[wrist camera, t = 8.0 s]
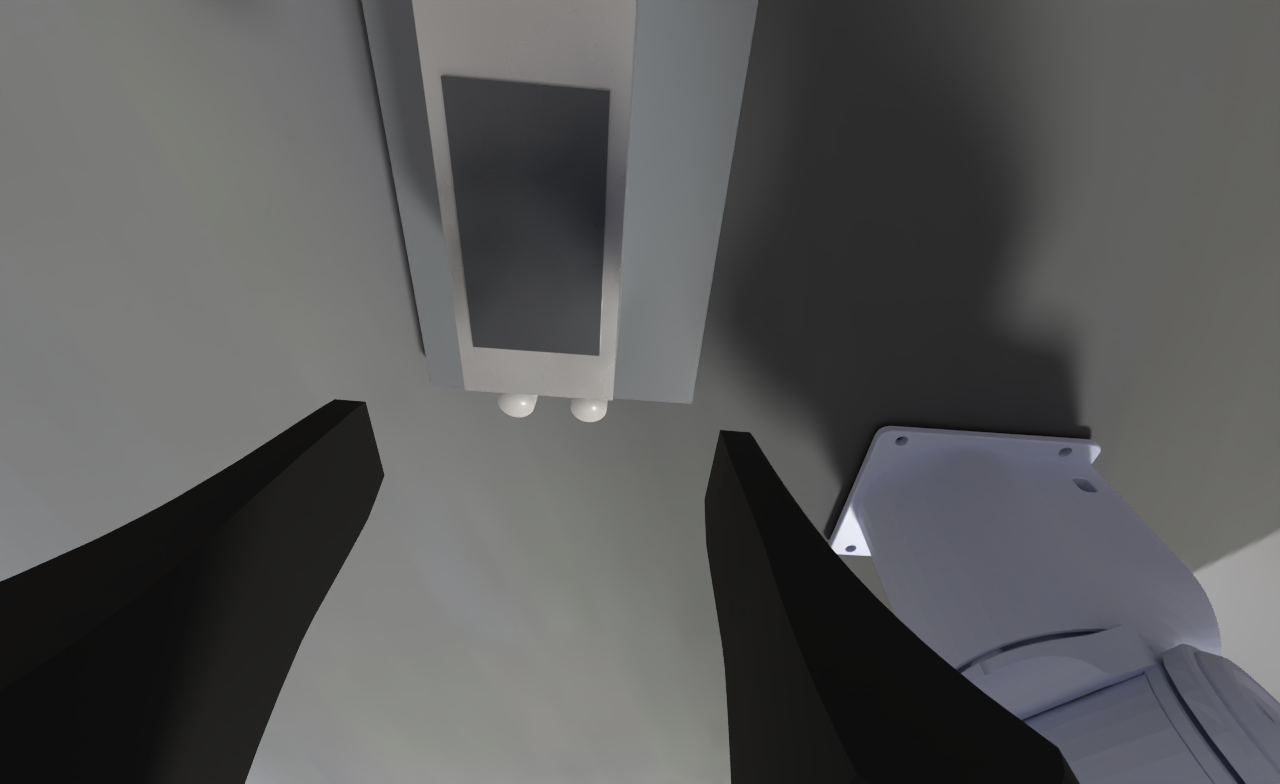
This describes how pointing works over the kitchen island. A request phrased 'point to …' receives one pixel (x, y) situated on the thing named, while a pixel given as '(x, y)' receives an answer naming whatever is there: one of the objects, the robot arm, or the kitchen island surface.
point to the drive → (532, 183)
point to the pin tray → (657, 190)
